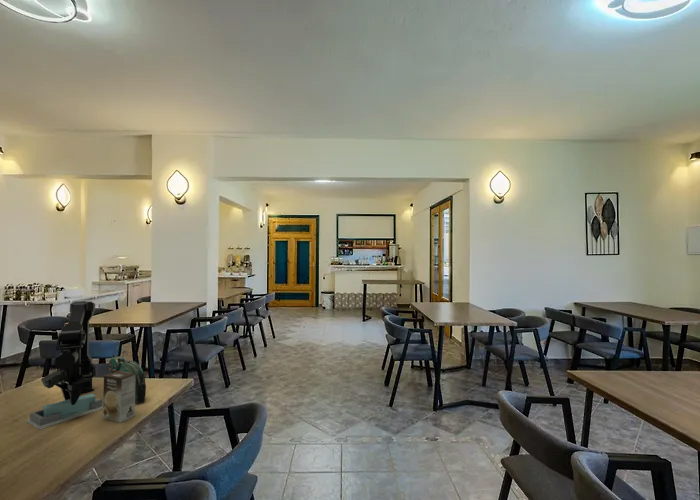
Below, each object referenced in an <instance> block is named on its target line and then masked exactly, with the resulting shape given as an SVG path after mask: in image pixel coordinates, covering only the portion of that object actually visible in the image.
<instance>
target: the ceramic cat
mask: <svg viewBox="0 0 700 500" xmlns="http://www.w3.org/2000/svg"><path fill="white" fill-rule="evenodd" d="M124 353H125V354H126V355H127V356H128V352H127V350H124V351H123V352H122V354H124ZM108 371H109V372H110V373H113V372H116V371H125V372H130V373H136V381H135V405H141V404H143V403H145V401H146V391H147V385H146V378H145V377H146V376H145V372H144V370H143V368H142V367H141V365H140V364H139V363H137V362H136V361H135V360H128V359H127V357H126V356H124V355H120V356H116V354H114V353H113V354H112V357H111V358H110V360H109V361H108Z"/></svg>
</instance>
